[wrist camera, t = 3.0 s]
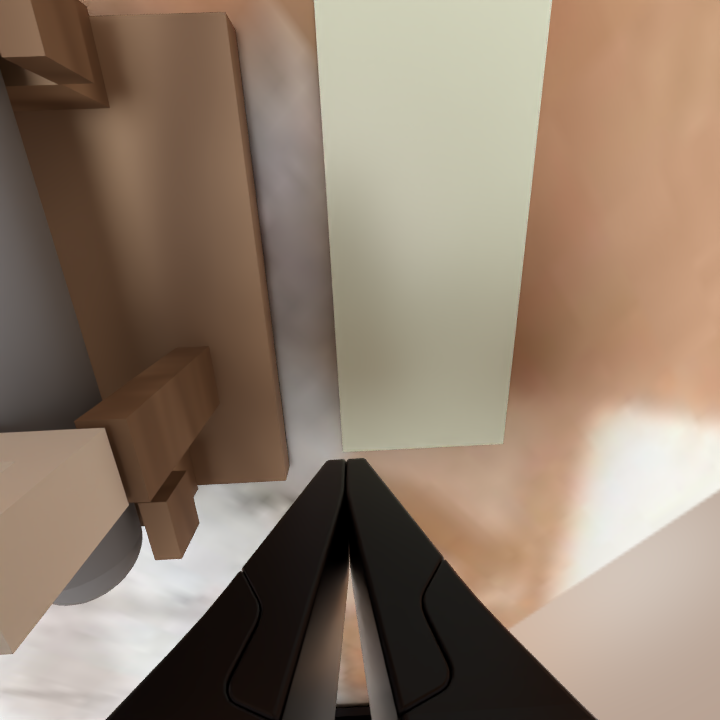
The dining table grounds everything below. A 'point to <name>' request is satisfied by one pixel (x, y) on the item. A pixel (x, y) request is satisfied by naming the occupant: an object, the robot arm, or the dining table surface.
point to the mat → (427, 209)
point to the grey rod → (47, 348)
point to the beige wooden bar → (50, 518)
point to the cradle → (154, 243)
